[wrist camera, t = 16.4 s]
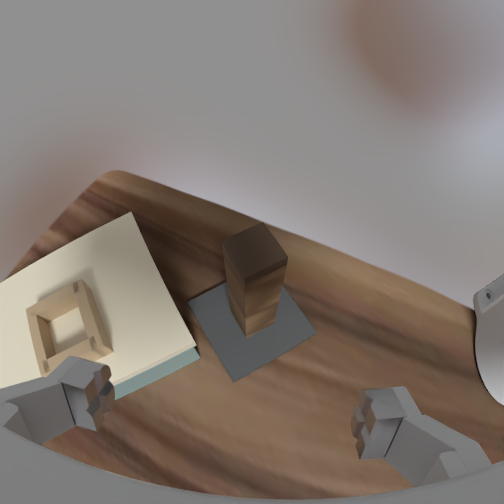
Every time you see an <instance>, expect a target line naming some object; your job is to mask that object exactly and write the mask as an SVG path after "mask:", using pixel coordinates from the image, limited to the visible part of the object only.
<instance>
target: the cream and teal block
mask: <svg viewBox="0 0 504 504" xmlns="http://www.w3.org/2000/svg"><path fill="white" fill-rule="evenodd" d="M194 346H196V343H195V341H194V340H193V338H192V336H191V334H190V332H189V330H188V328H187V327H186V325H185V323H184V321H183V319H182V317H181V315H180V313H179V311H178V309H177V307H176V306H175V304H174V302H173V300H172V298H171V296H170V294H169V292H168V290H167V288H166V286H165V284H164V282H163V280H162V278H161V275H160V273H159V271H158V269H157V267H156V265H155V263H154V261H153V259H152V257H151V254H150V252H149V250H148V248H147V246H146V244H145V241H144V239H143V237H142V235H141V233H140V230H139V228H138V226H137V223H136V221H135V219H134V217H133V214H132V212H129V213H127V214H125V215H123V216H121V217H119V218H117V219H115V220H113V221H111V222H109V223H107V224H105V225H103V226H101V227H99V228H97V229H95V230H93V231H91V232H89V233H87V234H85V235H84V236H82V237H80V238H78V239H76V240H74V241H72V242H70V243H69V244H67V245H65V246H63V247H61V248H59V249H58V250H56V251H54V252H52V253H50V254H49V255H47V256H45V257H43V258H41V259H40V260H38V261H36V262H35V263H33V264H31V265H29V266H28V267H26V268H24V269H23V270H21V271H19V272H18V273H16V274H14V275H13V276H11V277H9V278H8V279H6V280H4V281H3V282H1V283H0V389H1V388H4V387H8V386H12V385H15V384H19V383H22V382H26V381H29V380H33V379H36V378H39V377H47V376H48V375H49V374H50V373H51V372H52V371H53V370H54V369H55V368H56V367H58V366H59V365H60V364H61V363H62V362H63V361H64V360H65V359H66V358H67V357H68V356H76V357H80V358H84V359H87V360H91V361H95V362H99V363H103V364H106V365H108V366H109V367H110V370H111V374H112V376H111V377H110V379H109V381H110V382H111V383H112V384H113V386H114V389H115V400H116V399H118V398H121V397H123V396H125V395H127V394H129V393H131V392H134V391H136V390H138V389H140V388H142V387H144V386H146V385H148V384H150V383H152V382H154V381H156V380H158V379H161V378H163V377H165V376H167V375H169V374H171V373H173V372H175V371H177V370H179V369H181V368H182V367H184V366H186V365H188V364H190V363H192V362H194V361H196V360H198V359H200V356H199V355H198V353H197V351H196V349H195V347H194Z"/></svg>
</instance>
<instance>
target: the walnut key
mask: <svg viewBox="0 0 504 504" xmlns="http://www.w3.org/2000/svg"><path fill="white" fill-rule="evenodd" d="M221 242H222V250H223V258H224V265H225V273H226V281H227V288H228V295H229V303H230V310H231V313H232V315H233V317H234V318H235V320H236V322H237V324H238V325H239V327H240V329H241V330H242V332H243V334H244V336H245V337H246V338H248V337H250V336H252V335H253V334H255V333H257V332H259V331H261V330H263V329H265V328H267V327H268V326H270V325H272V324H274V322H275V317H276V313H277V308H278V303H279V299H280V294H281V289H282V284H283V280H284V275H285V270H286V265H287V260H288V256H287V255H286V253H285V252H284V250H283V249H282V248H281V246H280V245H279V244H278V242H277V241H276V239H275V238H274V237H273V235H272V234H271V233H270V231H269V230H268V228H267V227H266V226H265V224H264V223H263V222H262V223H260V224H258V225H256V226H253V227H251V228H249V229H247V230H245V231H242V232H240V233H238V234H236V235H233V236H231V237H229V238H227V239H225V240H222V241H221Z"/></svg>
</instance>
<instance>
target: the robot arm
mask: <svg viewBox="0 0 504 504" xmlns="http://www.w3.org/2000/svg"><path fill="white" fill-rule="evenodd" d="M487 297H488V298H487ZM473 301H474V308H475V313H476V317H477V328H476V338H475V350H476V359H477V364H478V368H479V372H480V375H481V377H482V380H483V382H484V384H485V386H486V388H487V390H488V391H489V393H490V394H491V395H492V396H493V397H494V399H496V400H497V401H498V402H499V403H501V404H502V405H504V274H503V275H502V276H500V277H499V278H497V279H496V280H495V281H493V282H492V283H490V284H489V285H487V286H486V287H485V288H483V289H482V290H480V291H479V292H477V293H476V294H475V295H474V298H473ZM111 376H112V374H111V370H110V367H109V366H108V365H106V364H103V363H99V362H95V361H91V360H87V359H84V358H80V357H76V356H68V357H67V358H66V359H65V360H64V361H63V362H62V363H61V364H60V365H59V366H58V367H56V368H55V369H54V370H53V371H52V372H51V373H50V374H49V375H48V376H47V377H39V378H36V379H33V380H29V381H26V382H22V383H19V384H15V385H12V386H8V387H4V388H1V389H0V504H504V461H501V462H499V463H496V464H493V465H492V464H491V462H490V461H489V459H488V458H487V456H486V454H485V453H484V451H483V450H482V448H481V447H480V445H479V443H477V442H475V441H473V440H472V439H470V438H468V437H466V436H464V435H462V434H460V433H458V432H456V431H455V430H453V429H451V428H449V427H447V426H445V425H443V424H442V423H440V422H438V421H436V420H434V419H432V418H431V417H429V416H427V415H422V414H421V413H420V411H419V409H418V407H417V406H416V404H415V402H414V401H413V399H412V397H411V395H410V394H409V392H408V390H407V389H406V388H405V387H404V386H400V387H390V388H381V389H361V391H360V392H359V395H358V398H357V400H358V403H359V406H357V407H356V408H355V409H354V411H353V415H352V420H351V429H352V434H353V436H354V437H355V438H356V439H358V441H357V443H356V449H357V452H358V456H359V459H360V460H364V459H378V458H384V459H385V460H386V461H387V462H388V463H389V464H390V465H391V466H392V467H394V468H395V469H396V470H397V471H398V472H399V473H400V474H401V475H402V476H404V477H405V478H406V479H407V480H408V481H409V482H410V483H412V484H413V485H414V486H415V487H414V488H409V489H404V490H398V491H392V492H386V493H380V494H372V495H364V496H355V497H345V498H331V499H308V500H278V499H255V498H241V497H231V496H222V495H213V494H206V493H199V492H193V491H187V490H182V489H176V488H171V487H166V486H162V485H157V484H153V483H149V482H144V481H140V480H137V479H133V478H129V477H126V476H122V475H119V474H115V473H112V472H109V471H106V470H103V469H100V468H97V467H94V466H91V465H88V464H85V463H82V462H80V461H77V460H74V459H72V458H69V457H67V456H64V455H62V454H59V453H57V452H55V451H52V450H50V449H48V448H46V447H43V446H41V444H43V443H45V442H47V441H49V440H51V439H52V438H54V437H56V436H58V435H60V434H62V433H64V432H65V431H67V430H69V429H71V428H73V427H74V426H75V425H77V426H80V427H84V428H87V429H90V430H94V431H97V430H98V428H99V427H100V425H101V424H102V422H103V421H104V415H103V414H104V413H106V412H109V411H110V410H111V408H112V406H113V404H114V400H115V389H114V386H113V384H112V383H111V382H110V381H109V379H110V377H111Z"/></svg>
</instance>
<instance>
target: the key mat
mask: <svg viewBox="0 0 504 504" xmlns="http://www.w3.org/2000/svg"><path fill="white" fill-rule="evenodd" d="M188 304H189V306H190V308H191V310H192V312H193V313H194V315H195V317H196V319H197V321H198V322H199V324H200V326H201V328H202V330H203V331H204V333H205V335H206V337H207V338H208V340H209V342H210V344H211V345H212V347H213V349H214V351H215V352H216V354H217V356H218V357H219V359H220V361H221V363H222V364H223V366H224V368H225V369H226V371H227V373H228V374H229V376H230V378H231V379H232V381H233V382H235V381H237V380H239V379H241V378H243V377H244V376H246V375H248V374H250V373H252V372H253V371H255V370H257V369H259V368H260V367H262V366H264V365H265V364H267V363H269V362H271V361H272V360H274V359H276V358H277V357H279V356H281V355H282V354H284V353H286V352H287V351H289V350H290V349H292V348H294V347H295V346H297V345H299V344H300V343H302V342H303V341H305V340H306V339H308V338H310V337H311V336H313V335H314V334H316V331H315V329H314V328H313V326H312V325H311V324H310V322H309V321H308V319H307V318H306V317H305V315H304V314H303V312H302V311H301V310H300V308H299V307H298V305H297V304H296V303H295V301H294V300H293V298H292V297H291V296H290V294H289V293H288V292H287V290H286V289H285V287H284V286H283V285H282V289H281V294H280V299H279V303H278V308H277V313H276V317H275V322H274V324H272V325H270V326H268V327H267V328H265V329H263V330H261V331H259V332H257V333H255V334H253V335H252V336H250V337H248V338H246V337H245V336H244V334H243V332H242V330H241V329H240V327H239V325H238V324H237V322H236V320H235V318H234V317H233V315H232V313H231V310H230V303H229V295H228V288H227V282H225V283H223V284H221V285H219V286H217V287H216V288H214V289H212V290H210V291H208V292H206V293H204V294H202V295H200V296H198V297H196V298H194V299H192V300H190V301H188Z"/></svg>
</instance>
